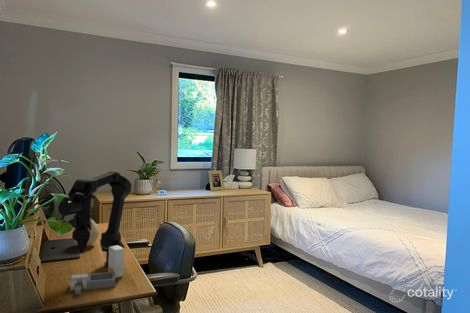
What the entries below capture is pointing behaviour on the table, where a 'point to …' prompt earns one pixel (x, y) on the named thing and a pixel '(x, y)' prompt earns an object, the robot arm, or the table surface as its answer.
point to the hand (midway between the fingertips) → (82, 249)
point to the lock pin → (78, 287)
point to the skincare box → (116, 260)
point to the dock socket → (101, 280)
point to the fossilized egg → (92, 234)
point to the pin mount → (79, 277)
